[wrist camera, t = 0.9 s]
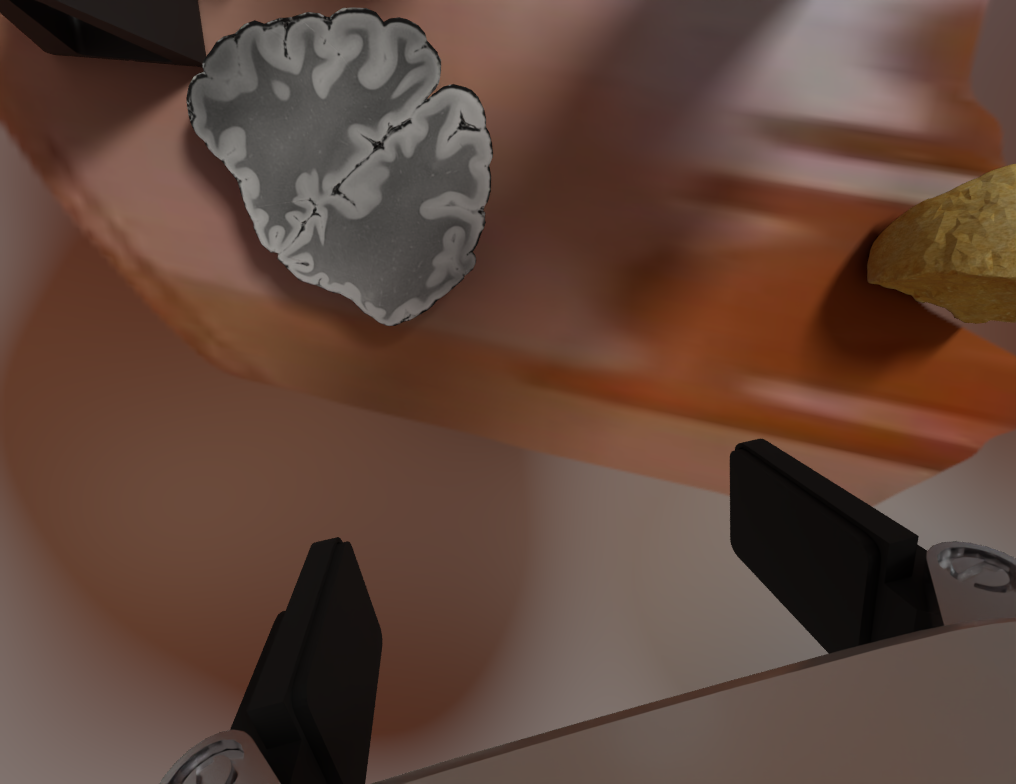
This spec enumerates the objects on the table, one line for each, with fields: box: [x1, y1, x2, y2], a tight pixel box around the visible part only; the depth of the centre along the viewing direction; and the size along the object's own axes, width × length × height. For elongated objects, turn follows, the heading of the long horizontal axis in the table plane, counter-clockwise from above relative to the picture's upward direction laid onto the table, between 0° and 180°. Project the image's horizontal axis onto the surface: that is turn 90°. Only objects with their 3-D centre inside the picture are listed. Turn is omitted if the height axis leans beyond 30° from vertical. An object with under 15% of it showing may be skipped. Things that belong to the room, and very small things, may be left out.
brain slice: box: [186, 8, 493, 326], centre depth 32 cm, size 20×17×3 cm
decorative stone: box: [867, 164, 1016, 324], centre depth 37 cm, size 13×15×15 cm
